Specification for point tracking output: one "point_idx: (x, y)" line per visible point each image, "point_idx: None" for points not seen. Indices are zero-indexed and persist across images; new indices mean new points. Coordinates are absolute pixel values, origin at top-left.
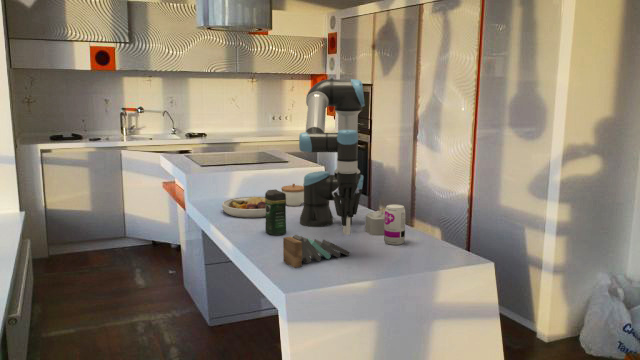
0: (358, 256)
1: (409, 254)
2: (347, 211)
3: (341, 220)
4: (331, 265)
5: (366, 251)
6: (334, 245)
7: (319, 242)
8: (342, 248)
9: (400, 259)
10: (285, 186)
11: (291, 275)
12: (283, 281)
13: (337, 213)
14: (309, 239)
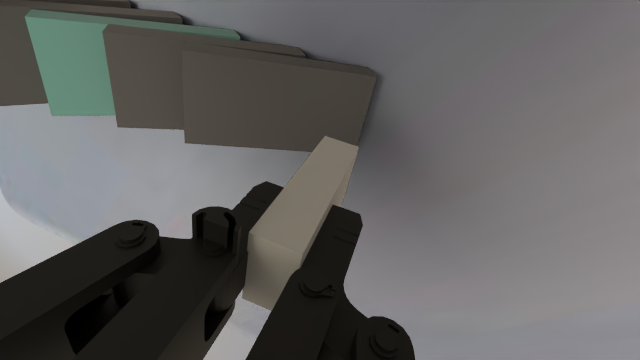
0: (380, 184)
1: (582, 350)
2: (269, 335)
3: (232, 210)
4: (199, 163)
5: (499, 170)
6: (225, 142)
7: (115, 101)
8: (292, 149)
9: (470, 336)
10: None
11: (37, 122)
12: (7, 141)
13: (103, 249)
14: (36, 58)
